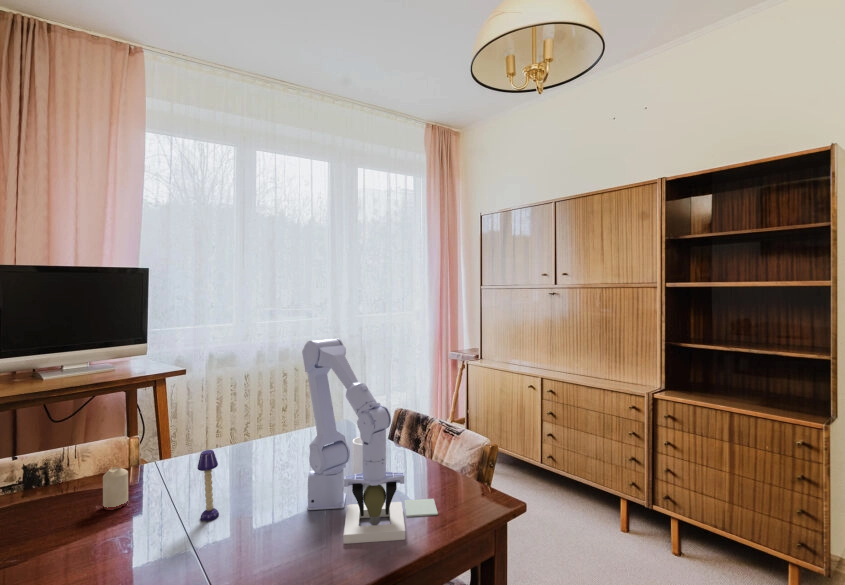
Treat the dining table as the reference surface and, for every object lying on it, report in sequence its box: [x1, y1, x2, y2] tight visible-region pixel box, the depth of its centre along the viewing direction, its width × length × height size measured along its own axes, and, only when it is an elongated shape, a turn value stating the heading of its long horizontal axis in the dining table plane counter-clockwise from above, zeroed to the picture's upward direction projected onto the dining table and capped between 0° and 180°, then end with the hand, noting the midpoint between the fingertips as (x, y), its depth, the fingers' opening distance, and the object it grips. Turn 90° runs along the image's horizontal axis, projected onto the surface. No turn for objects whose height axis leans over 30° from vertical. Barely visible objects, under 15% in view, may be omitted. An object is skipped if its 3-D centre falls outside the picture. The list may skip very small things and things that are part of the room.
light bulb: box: [363, 484, 386, 526], centre depth 106 cm, size 6×6×10 cm
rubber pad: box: [404, 498, 439, 518], centre depth 114 cm, size 8×8×1 cm
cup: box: [352, 436, 363, 475], centre depth 139 cm, size 8×12×10 cm
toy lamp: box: [197, 449, 220, 522], centre depth 110 cm, size 5×5×17 cm
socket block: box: [343, 501, 406, 545], centre depth 106 cm, size 14×14×2 cm
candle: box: [102, 466, 129, 508], centre depth 116 cm, size 6×6×10 cm
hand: (374, 513), depth 106 cm, fingers closed on light bulb, 5 cm apart
